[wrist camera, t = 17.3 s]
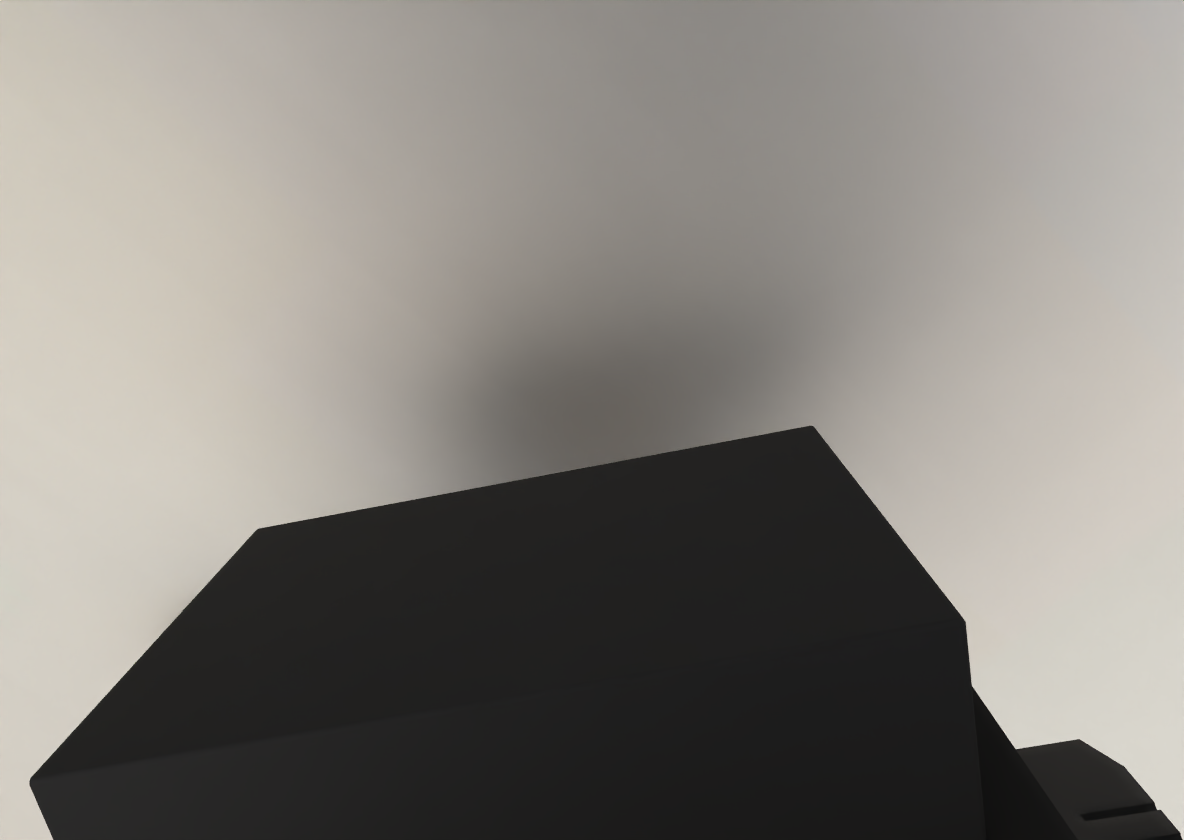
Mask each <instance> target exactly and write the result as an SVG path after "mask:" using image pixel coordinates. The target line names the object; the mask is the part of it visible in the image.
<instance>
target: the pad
mask: <svg viewBox="0 0 1184 840" xmlns="http://www.w3.org/2000/svg"><path fill="white" fill-rule="evenodd" d="M30 787H31V789H32V792H33V794H34V796H35V798H36V801H37V803H38V805H39V808H40V810H41V812H42V814H43V817H44V819H45V821H46V824H47V826H48V828H49V830H50V833H51V835H52V837H53V840H986V829H985V818H984V808H983V798H982V787H981V777H980V767H979V756H978V746H977V736H976V725H975V715H974V705H973V694H972V684H971V674H970V663H969V653H968V643H967V632H966V622H965V621H964V619H963V617H962V616H961V615H960V614H959V612H958V611H957V610H956V609H955V607H954V606H953V605H952V603H951V602H950V601H949V600H948V598H947V597H946V596H945V594H944V593H943V592H942V591H941V589H940V588H939V587H938V585H937V584H936V583H935V582H934V580H933V579H932V578H931V576H930V575H929V574H928V573H927V571H926V570H925V569H924V567H923V566H922V565H921V564H920V562H919V561H918V560H917V558H916V557H915V556H914V555H913V553H912V552H911V551H910V549H909V548H908V547H907V546H906V544H905V543H904V542H903V541H902V539H901V538H900V537H899V535H898V534H897V533H896V532H895V530H894V529H893V528H892V526H891V525H890V524H889V523H888V521H887V520H886V519H885V517H884V516H883V515H882V514H881V512H880V511H879V510H878V508H877V507H876V506H875V505H874V503H873V502H872V501H871V499H870V498H869V497H868V496H867V494H866V493H865V492H864V490H863V489H862V488H861V487H860V485H859V484H858V483H857V481H856V480H855V479H854V478H853V476H852V475H851V474H850V473H849V471H848V470H847V469H846V467H845V466H844V465H843V464H842V462H841V461H840V460H839V458H838V457H837V456H836V455H835V453H834V452H833V451H832V449H831V448H830V447H829V446H828V444H827V443H826V442H825V440H824V439H823V438H822V437H821V435H820V434H819V433H818V431H817V430H816V429H815V428H814V426H807V427H801V428H796V429H791V430H785V431H780V432H774V433H769V434H764V435H758V436H753V437H748V438H742V439H737V440H732V441H726V442H721V443H716V444H710V445H705V446H699V447H694V448H689V449H683V450H678V451H673V452H667V453H662V454H657V455H651V456H646V457H641V458H635V459H630V460H624V461H619V462H614V463H608V464H603V465H598V466H592V467H587V468H582V469H576V470H571V471H565V472H560V473H555V474H549V475H544V476H539V477H533V478H528V479H523V480H517V481H512V482H507V483H501V484H496V485H490V486H485V487H480V488H474V489H469V490H464V491H458V492H453V493H448V494H442V495H437V496H432V497H426V498H421V499H415V500H410V501H405V502H399V503H394V504H389V505H383V506H378V507H373V508H367V509H362V510H356V511H351V512H346V513H340V514H335V515H330V516H324V517H319V518H314V519H308V520H303V521H298V522H292V523H287V524H281V525H276V526H271V527H265V528H260V529H257V530H256V531H255V532H254V533H253V534H252V535H251V537H250V538H249V539H248V540H247V541H246V542H245V543H244V544H243V545H242V546H241V548H240V549H239V550H238V551H237V552H236V553H235V554H234V555H233V556H232V557H231V559H230V560H229V561H228V562H227V563H226V564H225V565H224V566H223V567H222V568H221V570H220V571H219V572H218V573H217V574H216V575H215V576H214V577H213V578H212V579H211V581H210V582H209V583H208V584H207V585H206V586H205V587H204V588H203V589H202V590H201V592H200V593H199V594H198V595H197V596H196V597H195V598H194V599H193V600H192V601H191V603H190V604H189V605H188V606H187V607H186V608H185V609H184V610H183V611H182V612H181V614H180V615H179V616H178V617H177V618H176V619H175V620H174V621H173V622H172V623H171V625H170V626H169V627H168V628H167V629H166V630H165V631H164V632H163V633H162V634H161V636H160V637H159V638H158V639H157V640H156V641H155V642H154V643H153V644H152V645H151V647H150V648H149V649H148V650H147V651H146V652H145V653H144V654H143V655H142V656H141V658H140V659H139V660H138V661H137V662H136V663H135V664H134V665H133V666H132V667H131V668H130V670H129V671H128V672H127V673H126V674H125V675H124V676H123V677H122V678H121V679H120V681H119V682H118V683H117V684H116V685H115V686H114V687H113V688H112V689H111V690H110V692H109V693H108V694H107V695H106V696H105V697H104V698H103V699H102V700H101V701H100V703H99V704H98V705H97V706H96V707H95V708H94V709H93V710H92V711H91V712H90V714H89V715H88V716H87V717H86V718H85V719H84V720H83V721H82V722H81V723H80V725H79V726H78V727H77V728H76V729H75V730H74V731H73V732H72V733H71V734H70V736H69V737H68V738H67V739H66V740H65V741H64V742H63V743H62V744H61V745H60V747H59V748H58V749H57V750H56V751H55V752H54V753H53V754H52V755H51V756H50V758H49V759H48V760H47V761H46V762H45V763H44V764H43V765H42V766H41V767H40V769H39V770H38V771H37V772H36V773H35V774H34V775H33V776H32V777H31V779H30Z"/></svg>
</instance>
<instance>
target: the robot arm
mask: <svg viewBox="0 0 1184 840" xmlns="http://www.w3.org/2000/svg"><path fill="white" fill-rule="evenodd" d="M972 694H973V705H974V715H975V725H976V736H977V746H978V756H979V767H980V777H981V787H982V798H983V808H984V818H985V829H986V840H1182V838H1181V834H1180V832H1179V831H1178V830H1177V829H1176V827H1175V826H1174V825H1173V824H1172V823H1171V822H1170V820H1169V819H1168V818H1167V817H1166V816H1165V814H1164V813H1163V812H1162V811H1161V810H1157V809H1156V807H1155V803H1154V801H1153V800H1152V799H1151V798H1150V797H1149V795H1148V794H1147V793H1146V792H1145V791H1144V790H1143V788H1142V787H1141V786H1140V785H1139V784H1138V782H1137V781H1136V780H1135V779H1134V778H1133V777H1132V775H1131V774H1130V773H1129V772H1128V771H1127V769H1126V768H1125V767H1124V766H1122V765H1121V764H1119V763H1117V762H1116V761H1114V760H1112V759H1111V758H1109V757H1108V756H1106V755H1104V754H1103V753H1101V752H1099V751H1098V750H1096V749H1094V748H1093V747H1091V746H1089V745H1088V744H1086V743H1085V742H1083V741H1081V740H1080V739H1078V740H1072V741H1065V742H1059V743H1053V744H1047V745H1040V746H1034V747H1028V748H1022V749H1015V748H1014V746H1013V745H1012V743H1011V742H1010V741H1009V739H1008V738H1007V736H1006V735H1005V733H1004V732H1003V730H1002V729H1001V728H1000V726H999V725H998V723H997V722H996V720H995V719H994V717H993V716H992V714H991V713H990V712H989V710H988V709H987V707H986V706H985V704H984V703H983V701H982V700H981V699H980V697H979V696H978V694H977V693H976V691H975V690H974V688H973V687H972Z"/></svg>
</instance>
